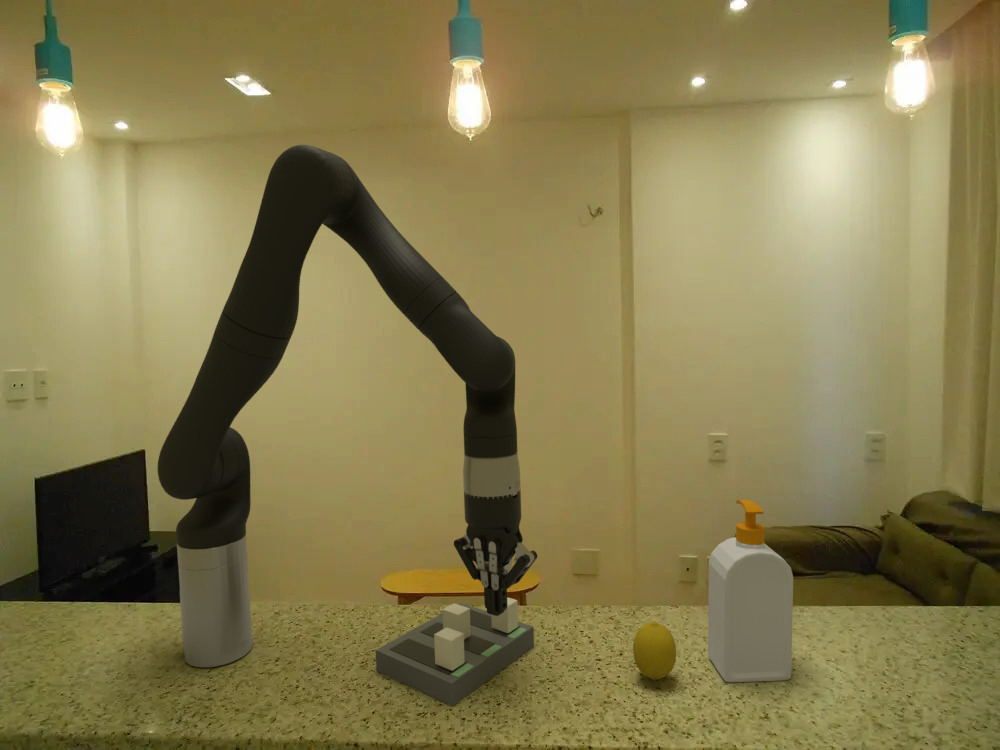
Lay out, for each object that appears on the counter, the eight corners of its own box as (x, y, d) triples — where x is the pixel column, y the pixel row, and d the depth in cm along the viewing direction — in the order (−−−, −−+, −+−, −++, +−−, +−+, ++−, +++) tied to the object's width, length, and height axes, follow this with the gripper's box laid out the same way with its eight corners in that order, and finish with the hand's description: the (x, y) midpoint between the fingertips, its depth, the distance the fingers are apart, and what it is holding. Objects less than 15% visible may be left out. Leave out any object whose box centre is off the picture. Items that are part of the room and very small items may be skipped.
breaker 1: (435, 663, 85) (434, 634, 85) (447, 655, 87) (446, 627, 86) (452, 670, 83) (451, 641, 83) (464, 662, 85) (463, 633, 85)
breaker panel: (376, 670, 90) (375, 649, 89) (461, 620, 104) (461, 602, 104) (452, 706, 81) (451, 682, 81) (533, 646, 95) (533, 626, 95)
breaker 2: (491, 627, 94) (491, 601, 94) (501, 621, 96) (501, 595, 96) (508, 633, 93) (507, 606, 92) (518, 626, 95) (517, 600, 94)
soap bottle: (768, 653, 92) (771, 495, 90) (791, 680, 85) (795, 510, 83) (705, 655, 92) (707, 497, 90) (723, 683, 85) (725, 512, 83)
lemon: (677, 693, 83) (677, 633, 82) (633, 689, 84) (633, 630, 83) (674, 670, 88) (674, 613, 87) (633, 666, 89) (633, 611, 88)
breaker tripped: (443, 636, 92) (442, 609, 92) (454, 629, 94) (453, 603, 94) (459, 642, 90) (458, 614, 90) (470, 635, 92) (469, 608, 92)
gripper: (435, 486, 87) (441, 611, 88) (515, 500, 79) (519, 637, 80) (471, 474, 93) (476, 591, 94) (549, 486, 85) (552, 614, 86)
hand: (496, 612), depth 87 cm, fingers closed
